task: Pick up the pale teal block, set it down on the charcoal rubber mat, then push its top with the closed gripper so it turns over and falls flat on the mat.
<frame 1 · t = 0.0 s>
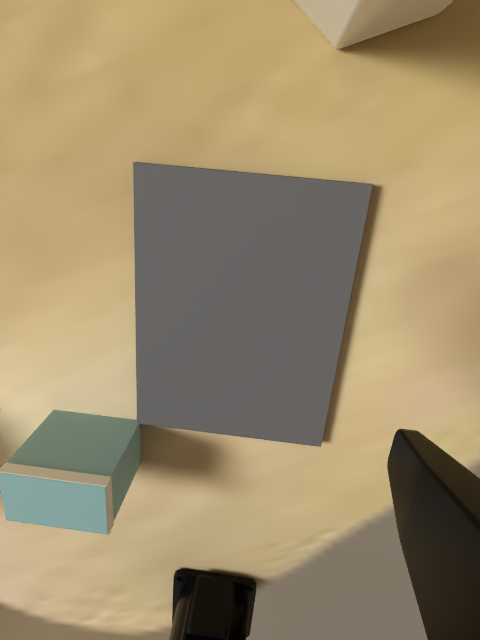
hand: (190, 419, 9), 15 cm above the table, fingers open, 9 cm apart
mat: (239, 317, 24), on the table
pale teal block: (98, 435, 28), on the table
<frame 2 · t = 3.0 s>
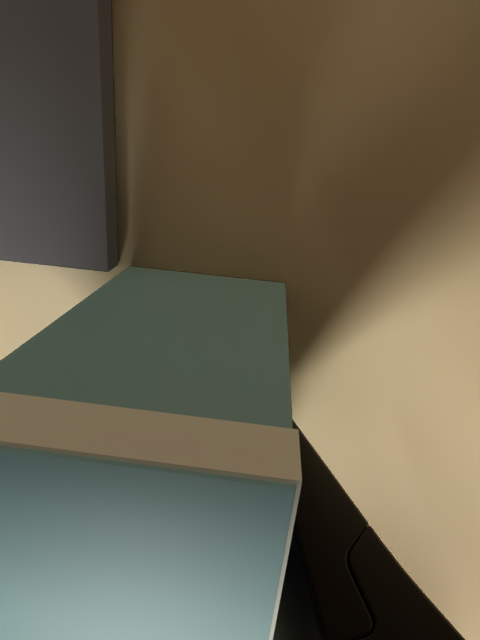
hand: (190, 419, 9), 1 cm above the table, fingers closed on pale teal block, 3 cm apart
pale teal block: (200, 390, 10), on the table, touching gripper
when the fingers open (2 cm above the table, at t = 7.2 s): pale teal block stays where it is, resting on mat.
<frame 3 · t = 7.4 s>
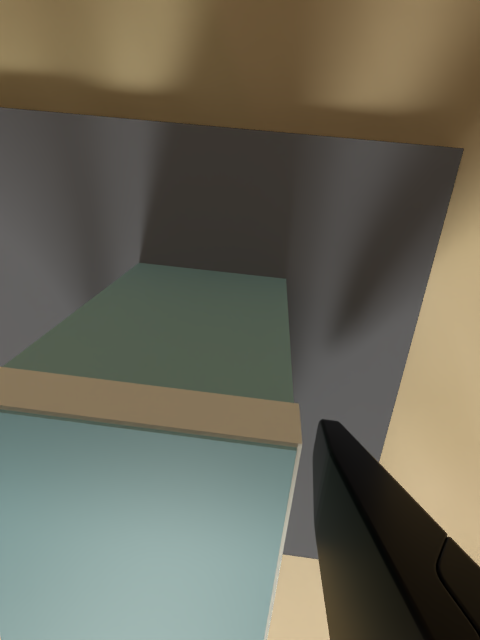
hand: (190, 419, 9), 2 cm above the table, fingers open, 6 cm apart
mat: (100, 354, 11), on the table
pale teal block: (204, 380, 11), point 1 cm above the table, touching mat
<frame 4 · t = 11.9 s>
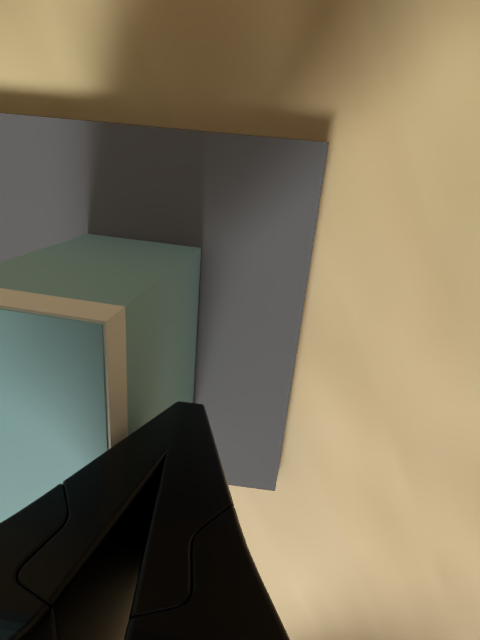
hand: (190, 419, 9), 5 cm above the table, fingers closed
mat: (62, 312, 14), on the table
pale teal block: (143, 333, 13), point 1 cm above the table, touching gripper, mat
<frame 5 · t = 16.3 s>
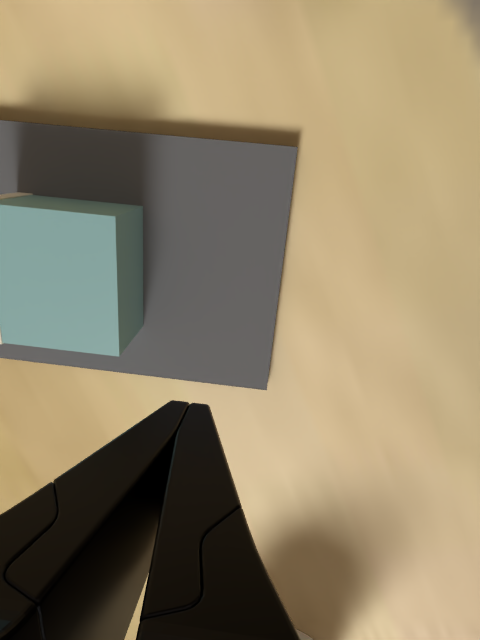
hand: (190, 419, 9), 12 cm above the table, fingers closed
mat: (121, 262, 20), on the table
pale teal block: (131, 279, 18), point 2 cm above the table, tilted 89°, touching mat
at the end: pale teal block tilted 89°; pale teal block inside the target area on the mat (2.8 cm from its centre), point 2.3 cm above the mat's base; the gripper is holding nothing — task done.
